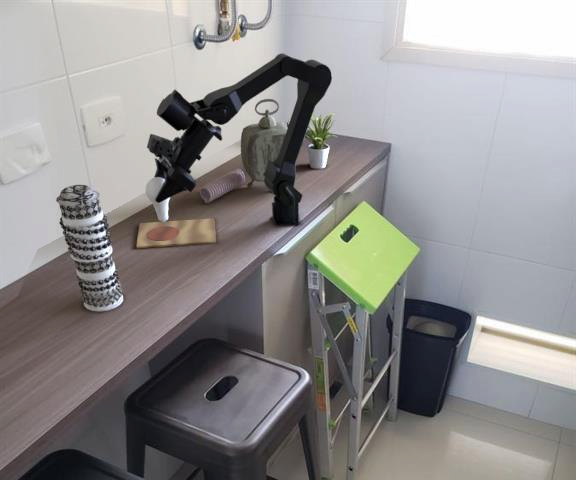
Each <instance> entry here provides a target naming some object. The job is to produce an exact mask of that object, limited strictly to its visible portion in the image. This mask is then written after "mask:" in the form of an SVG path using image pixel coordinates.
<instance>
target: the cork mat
mask: <svg viewBox="0 0 576 480" xmlns="http://www.w3.org/2000/svg"><path fill="white" fill-rule="evenodd" d="M203 244H217V238H216V226H215V217H214V218H213V217H211V218H197V219H196V218H195V219H183V220H182V219H181V220H169V221H168V220H166V221H165V222H162V221H153V222H140V223H139V225H138V231H137V238H136V246H135V248H136V249H147V248H148V249H149V248H160V247H162V248H163V247H175V246H189V245H191V246H192V245H203Z"/></svg>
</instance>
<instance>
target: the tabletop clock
mask: <svg viewBox="0 0 576 480" xmlns="http://www.w3.org/2000/svg"><path fill="white" fill-rule="evenodd" d="M262 103H274V104H275V105H276V107H277V108H276V109H275V110H273V111H270V110H269V109H265V110H264V111H265V112H260V111H258V110H257V109H258V107H259V105H261V104H262ZM279 109H280V104H279V102H278V101H277V100H275V99H273V98H264V99H261V100H259V101H258V102H257V103H255V106H254V111H255V113H256V114H257V115H259V116H262V117H261V118H260V119H259V121H258V123H252V124H248V125H246V126H244V127H243V128H242V131H241V135H240V155H241V163H242V166H243V169H244V172H246V174H247V176H249V178H250V179H251V181H249V182H248V183H247V187H248V188H250V189H251V188H253V186H254V184H253V183H254V182H264V178H265V176H264V175H263V174H264V172H265V170H266V168H267V162H268V160H270V161H272V162H273V161H274V160H275V159H276V158H277V157H278V155H279V152H280V149H281V146H282V143H283V140H284V137H285V134H286V131H287V128H288V127H287V125H286V124H285V123H283V122H279V121H276V119H275V118H274V117H273V115H275V114H276V113H277V112H278V111H279Z"/></svg>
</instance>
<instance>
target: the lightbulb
mask: <svg viewBox="0 0 576 480" xmlns="http://www.w3.org/2000/svg"><path fill="white" fill-rule="evenodd" d="M164 182H165V179H163V178H160V177H155V178H154V177H152V178H151V179H149V180H148V181H147V183H146V184H145V195H146V197H147V199H148V200H149V201H150V202H151V204H152V206H153V207H154V211H155V213H156V215H157V219H158V222H165V221H168V220H169V203H170V200H171V197H170V198H168V199H166V200H164V201H162V202H160V203H158V202H156V201H155V199H156V197H157V195H158V193H159V191H160V189H161V187H162V185H163V183H164Z"/></svg>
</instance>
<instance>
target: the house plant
mask: <svg viewBox="0 0 576 480" xmlns="http://www.w3.org/2000/svg"><path fill="white" fill-rule="evenodd" d="M335 114H336V112H332V113H331V114H328V115H326V116H325V117H324V118H323V120H322V114H320V115H319V118H318V117H316V116H315V115H314V113H313V114H312V117H311V120H310V121H311V122H312V124H313V126H312V125H311V123H309V126H308V129H309V131H307V132H306V134H305V135H306V136H305V137H304V138H305V139H307V140H308V141H309V144H308V145H307V146H306V147H307V153H308V160H309V167H310V168H311V169H315V170H322V169H325V168H326V166H327V163H328V158H329V157H328V156H329V152H330V145H329V144H327V143H326V141H327V140H328V139H329V138H332V137H333V135H330V134H329V133H332V131H330V129H331V128H332V127H333V126H334V122H335V121H336V119H334V120H333V117H334V115H335ZM332 120H333V122H332ZM313 127H314V128H313ZM335 137H336V138H338V136H337V135H335Z"/></svg>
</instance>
